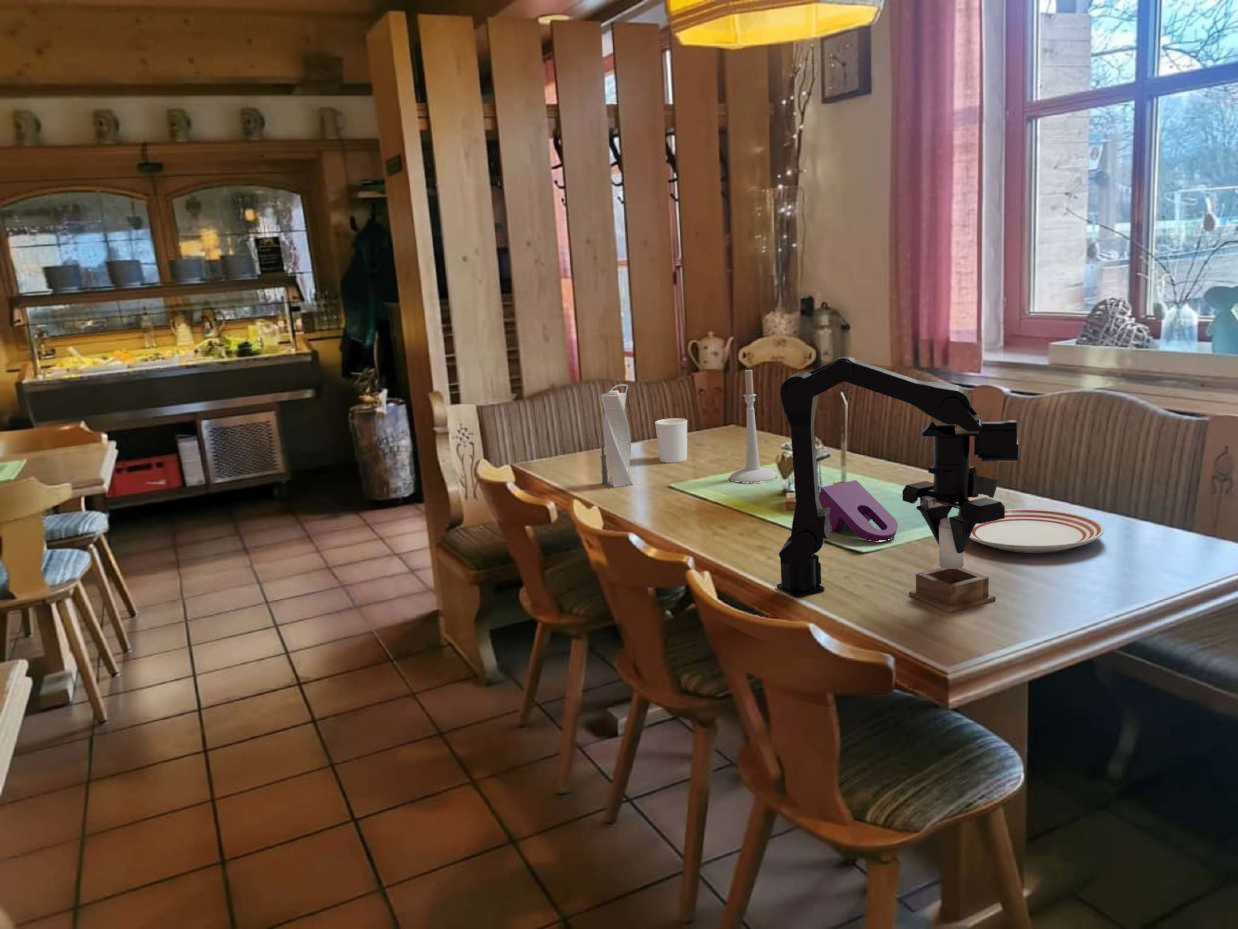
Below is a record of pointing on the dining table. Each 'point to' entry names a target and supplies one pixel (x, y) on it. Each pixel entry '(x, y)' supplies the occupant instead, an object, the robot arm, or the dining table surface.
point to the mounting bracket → (857, 511)
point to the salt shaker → (948, 547)
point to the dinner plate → (1037, 531)
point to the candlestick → (751, 443)
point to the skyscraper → (616, 440)
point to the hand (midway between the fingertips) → (951, 549)
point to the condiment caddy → (952, 588)
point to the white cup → (672, 439)
